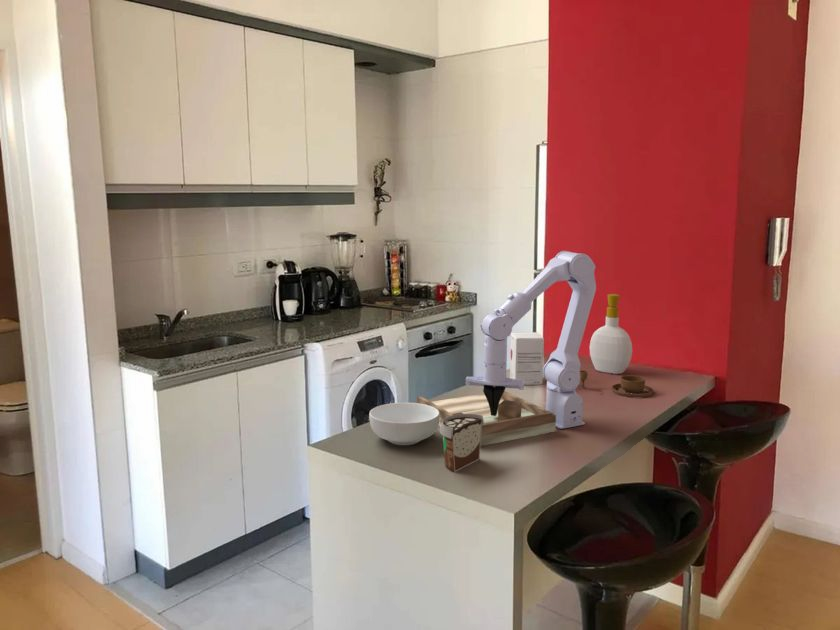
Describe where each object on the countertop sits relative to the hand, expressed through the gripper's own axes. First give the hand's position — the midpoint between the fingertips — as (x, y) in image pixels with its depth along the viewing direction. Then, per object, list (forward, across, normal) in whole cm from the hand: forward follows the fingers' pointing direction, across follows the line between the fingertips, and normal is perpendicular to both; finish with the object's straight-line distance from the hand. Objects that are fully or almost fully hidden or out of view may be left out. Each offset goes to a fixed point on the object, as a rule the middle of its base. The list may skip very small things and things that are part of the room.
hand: (493, 414), depth 175 cm
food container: (+4, +5, +25) cm, 26 cm away
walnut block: (+1, -4, +1) cm, 4 cm away
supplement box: (+4, -4, -46) cm, 46 cm away
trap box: (+3, +3, -4) cm, 6 cm away
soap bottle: (+4, -30, -65) cm, 72 cm away
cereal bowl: (+4, +20, +14) cm, 24 cm away
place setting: (+4, -32, -44) cm, 54 cm away
